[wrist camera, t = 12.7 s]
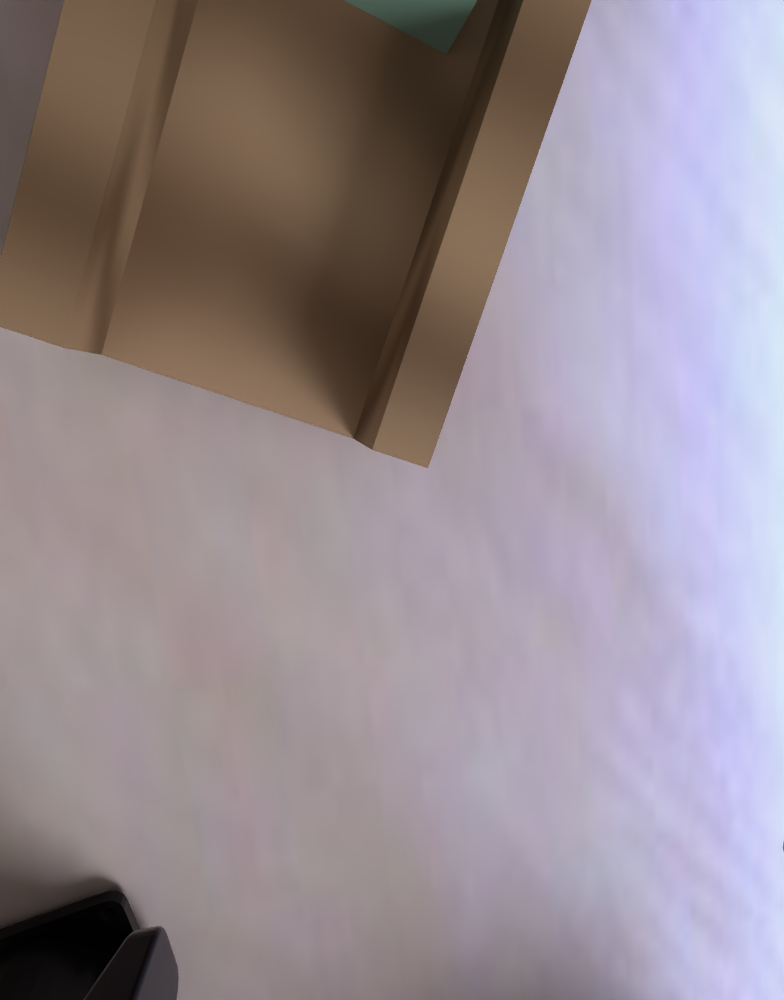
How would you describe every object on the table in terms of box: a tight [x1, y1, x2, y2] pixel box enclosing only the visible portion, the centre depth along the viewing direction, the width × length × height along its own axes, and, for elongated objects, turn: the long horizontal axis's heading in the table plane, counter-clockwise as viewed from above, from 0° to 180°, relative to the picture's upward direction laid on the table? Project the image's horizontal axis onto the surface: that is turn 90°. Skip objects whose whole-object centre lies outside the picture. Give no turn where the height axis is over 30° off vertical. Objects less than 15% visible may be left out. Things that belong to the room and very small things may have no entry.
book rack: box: [0, 0, 591, 468], centre depth 14 cm, size 18×10×4 cm, turn 160°
